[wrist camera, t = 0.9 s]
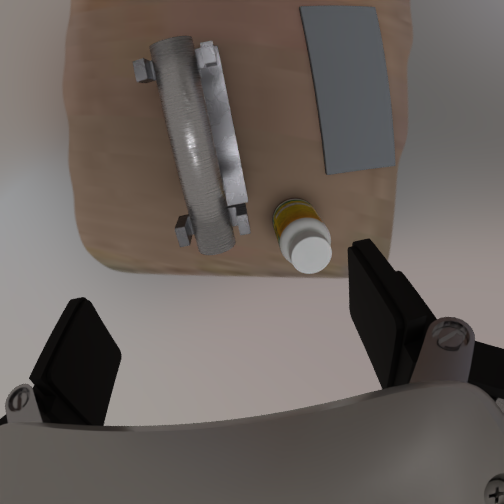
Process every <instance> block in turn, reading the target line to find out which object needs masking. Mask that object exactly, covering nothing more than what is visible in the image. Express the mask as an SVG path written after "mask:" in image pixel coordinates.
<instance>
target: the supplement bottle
mask: <svg viewBox="0 0 504 504" xmlns="http://www.w3.org/2000/svg"><path fill="white" fill-rule="evenodd" d="M273 227H274V230H275V233H276V236H277V239H278V243H279V246H280V249H281V252H282V254H283V256H284V257H285V258H286V259H287V260H288V261H289V262H290V263H292V264H293V266H294V267H295V268H296V269H297V270H298V271H300V272H302V273H306V274H312V273H316V272H319V271H320V270H322V269H324V268H325V267H326V266H327V265H328V263H329V261H330V259H331V256H332V250H331V246H330V244H331V236H330V233H329V230H328V229H327V227H326V225H325V224H324V223H323V221H322V220H321V218H320V217H319V215H318V214H317V212H316V211H315V209H314V208H313V207H312V205H311V204H309V203H308V202H306V201H304V200H301V199H289V200H286V201H284V202H283V203H281V204H280V205H279V206H278V207H277V208H276V210H275V212H274V215H273Z"/></svg>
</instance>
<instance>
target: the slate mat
mask: <svg viewBox="0 0 504 504" xmlns="http://www.w3.org/2000/svg"><path fill="white" fill-rule="evenodd" d="M299 10H300V14H301V19H302V24H303V28H304V33H305V38H306V43H307V49H308V54H309V59H310V65H311V71H312V76H313V82H314V89H315V95H316V101H317V108H318V115H319V122H320V129H321V137H322V145H323V153H324V162H325V171H326V174H327V175H330V174H337V173H344V172H351V171H358V170H365V169H373V168H381V167H389V166H395V149H394V133H393V120H392V110H391V100H390V91H389V83H388V76H387V69H386V62H385V56H384V50H383V44H382V38H381V33H380V28H379V23H378V18H377V14H376V9H375V7H363V6H301V7H299Z"/></svg>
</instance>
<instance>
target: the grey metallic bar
mask: <svg viewBox="0 0 504 504" xmlns="http://www.w3.org/2000/svg"><path fill="white" fill-rule="evenodd" d="M150 52H151V57H152V62H153V67H154V72H155V77H156V81H157V86H158V91H159V95H160V100H161V104H162V109H163V113H164V117H165V122H166V126H167V130H168V135H169V139H170V143H171V147H172V151H173V155H174V159H175V163H176V167H177V171H178V175H179V179H180V183H181V187H182V191H183V194H184V198H185V202H186V206H187V209H188V213H189V217H190V220H191V224H192V228H193V231H194V235H195V238H196V242H197V246H198V249H199V252H200V253H202V254H205V255H215V254H220V253H223V252H226V251H228V250H229V249H231V248H232V247H233V246H234V245H235V243H236V241H235V237H234V232H233V228H232V223H231V219H230V214H229V210H228V205H227V201H226V196H225V191H224V187H223V182H222V178H221V173H220V169H219V164H218V159H217V155H216V150H215V145H214V141H213V136H212V131H211V127H210V122H209V117H208V112H207V108H206V103H205V98H204V93H203V89H202V84H201V79H200V74H199V69H198V64H197V59H196V54H195V49H194V45H193V40H192V37H191V36H178V37H172V38H168V39H165V40H161V41H159V42H156V43H154V44H152V45H151V46H150Z"/></svg>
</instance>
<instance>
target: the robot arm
mask: <svg viewBox="0 0 504 504" xmlns="http://www.w3.org/2000/svg"><path fill="white" fill-rule="evenodd" d="M348 269H349V303H350V305H349V308H350V314H351V317H352V320H353V322H354V324H355V327H356V329H357V331H358V333H359V336H360V338H361V340H362V342H363V344H364V346H365V349H366V351H367V354H368V356H369V358H370V361H371V363H372V365H373V368H374V370H375V372H376V375H377V377H378V379H379V382H380V384H381V387H382V390H378V391H374V392H370V393H365V394H362V395H358V396H354V397H350V398H346V399H342V400H337V401H333V402H329V403H324V404H320V405H315V406H310V407H305V408H300V409H295V410H290V411H285V412H279V413H273V414H268V415H261V416H254V417H248V418H241V419H233V420H224V421H216V422H204V423H193V424H179V425H159V426H103V425H104V421H105V417H106V413H107V409H108V405H109V401H110V397H111V394H112V390H113V386H114V382H115V379H116V375H117V372H118V368H119V365H120V362H121V352H120V349H119V348H118V346H117V344H116V343H115V341H114V340H113V338H112V337H111V335H110V333H109V332H108V330H107V328H106V327H105V325H104V324H103V322H102V320H101V318H100V317H99V315H98V313H97V312H96V310H95V308H94V306H93V305H92V303H91V302H90V301H89V300H87V299H86V298H84V297H81V298H77V299H72V300H70V301H69V303H68V304H67V306H66V308H65V310H64V311H63V313H62V315H61V317H60V319H59V321H58V322H57V324H56V326H55V328H54V330H53V331H52V334H51V335H50V337H49V339H48V341H47V343H46V345H45V347H44V349H43V351H42V353H41V355H40V357H39V359H38V361H37V363H36V365H35V367H34V369H33V371H32V373H31V375H30V377H29V379H30V380H31V381H32V382H33V384H34V387H33V388H32V387H31V386H30V385H28V384H22V385H19V386H17V387H16V388H14V390H12V391H11V393H10V394H9V395H8V397H7V399H6V404H5V409H6V415H5V416H3V417H2V418H1V419H0V504H504V349H502V348H499V347H495V346H491V345H487V344H484V343H481V342H477V341H475V335H474V332H473V330H472V328H471V327H470V326H469V325H468V324H467V323H466V322H464V321H463V320H461V319H458V318H455V317H444V318H439V319H436V317H435V316H434V314H433V313H432V312H431V310H430V309H429V307H428V306H427V305H426V303H425V302H424V301H423V299H422V298H421V297H420V295H419V294H418V292H417V291H416V290H415V288H414V287H413V286H412V284H411V283H410V282H409V281H408V279H407V278H406V277H405V275H404V274H403V273H402V272H401V271H395V270H394V269H393V268H392V266H391V265H390V264H389V262H388V261H387V260H386V258H385V257H384V256H383V255H382V253H381V252H380V251H379V250H378V248H377V247H376V246H375V244H374V243H373V242H372V241H371V240H370V239H364V240H359V241H355V242H353V244H352V247H348Z"/></svg>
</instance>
